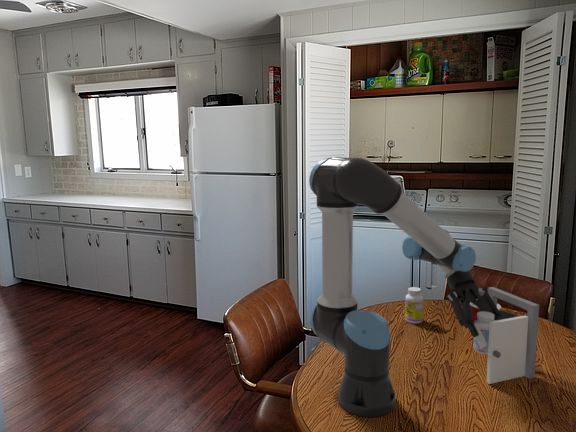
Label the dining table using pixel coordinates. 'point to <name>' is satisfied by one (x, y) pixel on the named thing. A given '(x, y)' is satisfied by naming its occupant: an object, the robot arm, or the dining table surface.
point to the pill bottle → (483, 329)
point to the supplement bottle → (414, 306)
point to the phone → (506, 315)
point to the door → (507, 349)
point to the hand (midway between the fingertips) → (493, 344)
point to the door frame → (532, 324)
